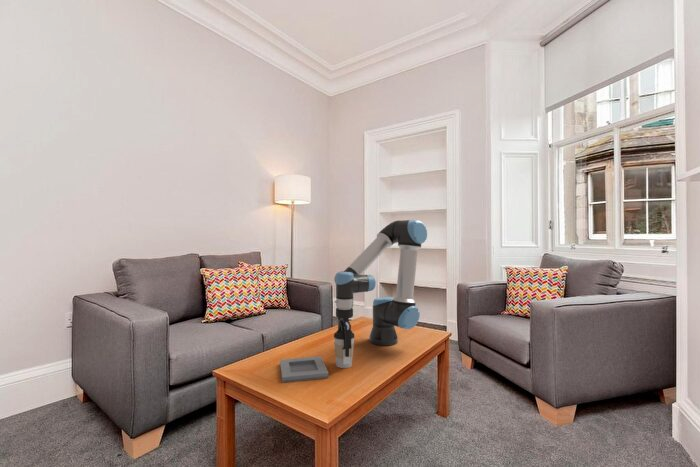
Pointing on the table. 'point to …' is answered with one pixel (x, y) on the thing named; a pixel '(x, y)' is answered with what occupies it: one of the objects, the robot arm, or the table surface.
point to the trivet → (303, 369)
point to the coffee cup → (339, 351)
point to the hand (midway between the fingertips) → (343, 359)
